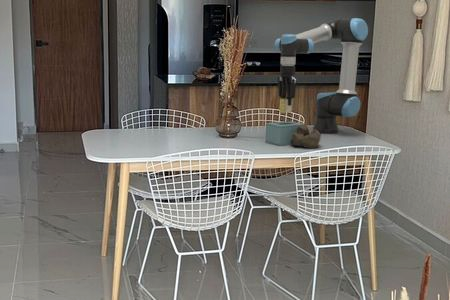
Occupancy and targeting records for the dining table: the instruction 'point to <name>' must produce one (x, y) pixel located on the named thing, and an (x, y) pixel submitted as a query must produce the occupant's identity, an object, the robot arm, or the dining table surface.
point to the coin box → (281, 132)
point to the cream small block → (283, 106)
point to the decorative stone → (305, 137)
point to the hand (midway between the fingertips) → (286, 111)
